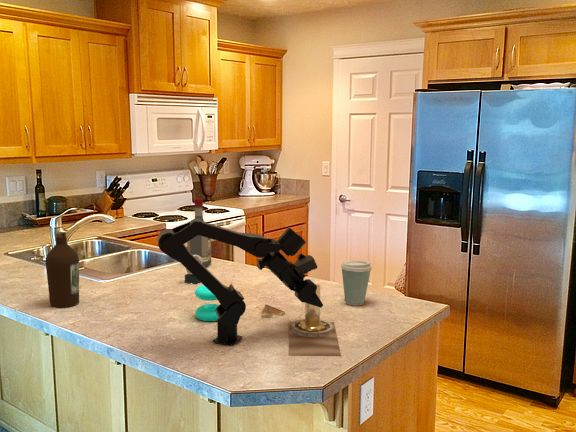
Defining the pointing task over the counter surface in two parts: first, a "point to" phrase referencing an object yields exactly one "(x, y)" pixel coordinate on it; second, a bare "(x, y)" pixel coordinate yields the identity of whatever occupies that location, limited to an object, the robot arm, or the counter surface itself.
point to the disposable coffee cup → (355, 281)
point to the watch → (190, 277)
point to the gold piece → (312, 317)
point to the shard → (271, 312)
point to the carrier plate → (313, 341)
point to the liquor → (200, 238)
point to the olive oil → (62, 274)
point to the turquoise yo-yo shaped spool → (207, 310)
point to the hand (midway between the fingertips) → (317, 301)
